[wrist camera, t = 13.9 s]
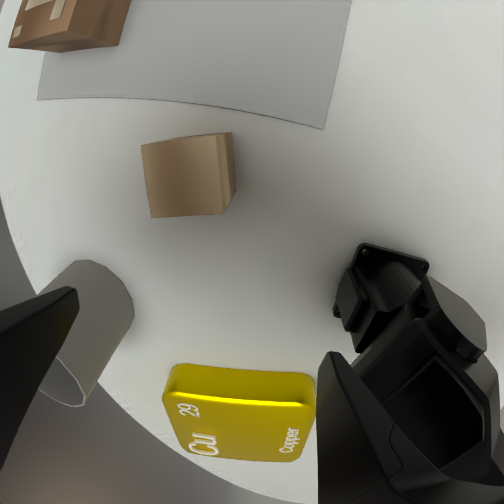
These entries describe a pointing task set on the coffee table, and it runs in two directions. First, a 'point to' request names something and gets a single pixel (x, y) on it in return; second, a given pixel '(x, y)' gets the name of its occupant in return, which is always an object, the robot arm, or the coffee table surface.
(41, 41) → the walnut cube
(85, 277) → the cup
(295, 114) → the rubber mat
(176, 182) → the oak block
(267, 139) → the coffee table surface
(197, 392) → the element tile
